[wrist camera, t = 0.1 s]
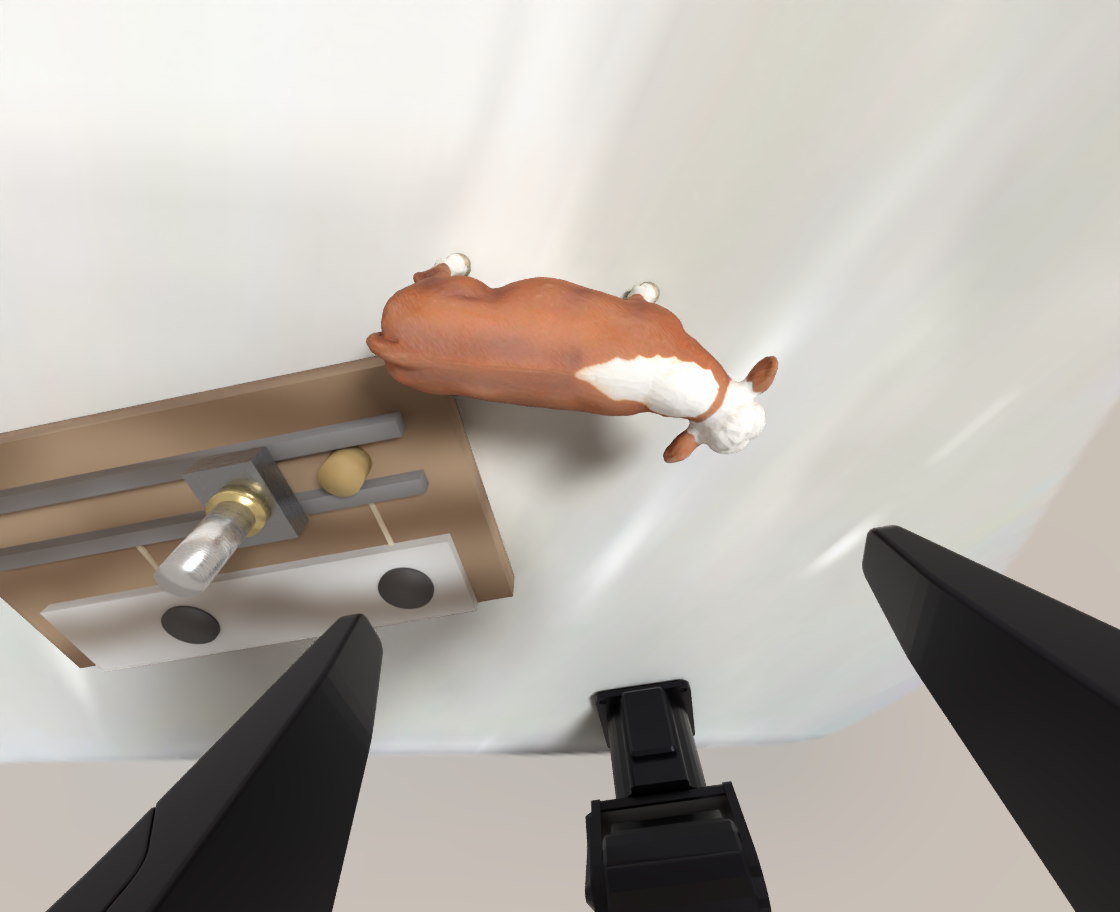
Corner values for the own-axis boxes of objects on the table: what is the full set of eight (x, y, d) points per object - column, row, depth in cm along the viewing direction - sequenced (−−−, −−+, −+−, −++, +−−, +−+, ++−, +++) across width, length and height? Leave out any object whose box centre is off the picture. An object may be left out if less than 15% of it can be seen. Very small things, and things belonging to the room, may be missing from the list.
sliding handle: (309, 520, 23) (250, 613, 18) (247, 531, 23) (173, 626, 18) (265, 446, 21) (186, 529, 16) (198, 459, 21) (101, 545, 16)
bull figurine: (702, 393, 23) (773, 498, 16) (406, 330, 21) (339, 418, 14) (741, 299, 21) (843, 373, 14) (415, 219, 19) (341, 257, 12)
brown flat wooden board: (514, 576, 28) (511, 618, 26) (99, 646, 30) (59, 691, 28) (435, 343, 21) (420, 369, 19) (-102, 454, 23) (-182, 491, 21)
